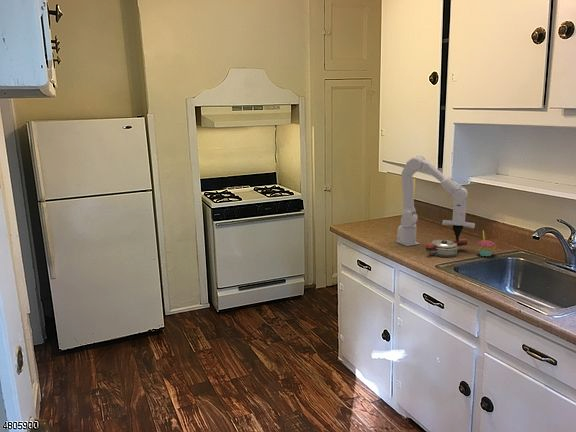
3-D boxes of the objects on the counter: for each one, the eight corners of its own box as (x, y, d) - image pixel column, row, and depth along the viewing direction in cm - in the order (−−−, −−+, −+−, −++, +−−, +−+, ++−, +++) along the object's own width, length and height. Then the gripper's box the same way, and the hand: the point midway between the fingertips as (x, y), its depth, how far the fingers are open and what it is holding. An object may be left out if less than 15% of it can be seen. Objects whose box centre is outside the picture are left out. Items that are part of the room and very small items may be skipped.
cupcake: (472, 255, 225) (474, 230, 222) (480, 251, 231) (482, 226, 228) (490, 259, 219) (492, 233, 216) (498, 254, 225) (500, 229, 222)
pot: (418, 252, 230) (418, 244, 230) (455, 246, 239) (455, 238, 239) (436, 260, 219) (437, 251, 218) (474, 253, 228) (475, 244, 227)
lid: (435, 250, 219) (435, 246, 219) (419, 244, 229) (419, 240, 229) (474, 244, 227) (474, 240, 227) (458, 238, 237) (458, 235, 237)
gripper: (441, 213, 230) (439, 240, 233) (473, 216, 223) (471, 244, 226) (445, 210, 236) (443, 237, 239) (476, 213, 229) (474, 241, 232)
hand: (457, 240), depth 233 cm, fingers closed, pressing on lid
